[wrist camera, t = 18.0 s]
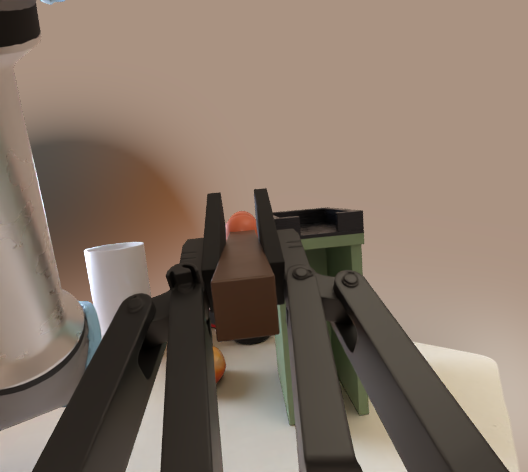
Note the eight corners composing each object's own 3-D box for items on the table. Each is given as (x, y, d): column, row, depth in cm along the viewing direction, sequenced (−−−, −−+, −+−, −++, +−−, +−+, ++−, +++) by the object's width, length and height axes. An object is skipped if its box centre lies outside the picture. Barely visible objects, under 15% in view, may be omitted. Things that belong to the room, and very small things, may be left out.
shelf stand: (372, 419, 43) (363, 232, 39) (290, 430, 42) (274, 241, 38) (336, 360, 59) (328, 223, 55) (277, 367, 58) (265, 229, 54)
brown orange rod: (299, 333, 9) (291, 234, 9) (197, 345, 9) (185, 244, 9) (256, 236, 35) (254, 209, 35) (230, 238, 35) (227, 211, 35)
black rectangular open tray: (363, 232, 39) (362, 210, 39) (274, 241, 38) (273, 218, 38) (328, 223, 55) (327, 207, 55) (265, 229, 54) (263, 213, 54)
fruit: (184, 362, 60) (200, 330, 58) (218, 381, 59) (235, 349, 58) (165, 388, 52) (183, 352, 50) (205, 410, 51) (223, 374, 50)
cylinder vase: (167, 341, 73) (153, 242, 70) (117, 366, 64) (98, 253, 60) (141, 330, 81) (127, 241, 78) (92, 351, 71) (75, 250, 68)
